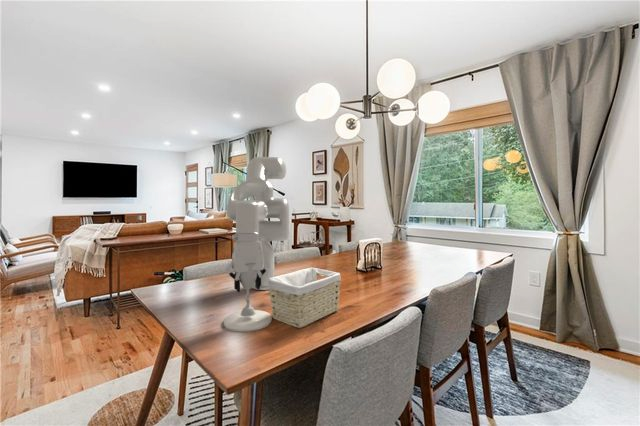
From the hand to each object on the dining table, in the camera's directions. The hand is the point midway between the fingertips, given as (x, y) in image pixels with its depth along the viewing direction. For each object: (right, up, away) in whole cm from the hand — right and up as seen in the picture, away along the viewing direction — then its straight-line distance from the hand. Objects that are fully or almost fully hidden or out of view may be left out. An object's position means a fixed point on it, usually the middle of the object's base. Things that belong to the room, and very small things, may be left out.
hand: (247, 289), depth 106 cm
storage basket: (+20, -11, +7) cm, 24 cm away
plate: (0, -11, 0) cm, 11 cm away
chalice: (0, -9, +1) cm, 9 cm away
